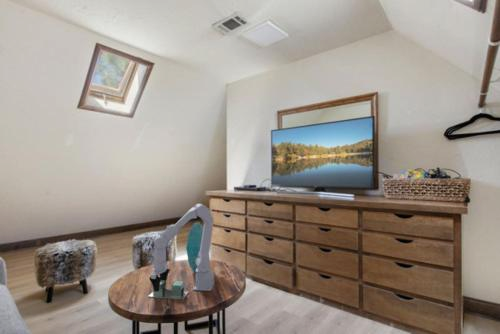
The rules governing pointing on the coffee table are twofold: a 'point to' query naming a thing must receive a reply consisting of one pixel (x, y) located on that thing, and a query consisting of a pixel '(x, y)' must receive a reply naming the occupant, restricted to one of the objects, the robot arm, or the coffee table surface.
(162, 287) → the block
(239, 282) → the coffee table surface
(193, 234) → the crystal
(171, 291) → the rail
